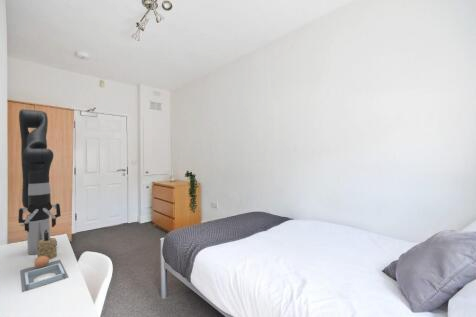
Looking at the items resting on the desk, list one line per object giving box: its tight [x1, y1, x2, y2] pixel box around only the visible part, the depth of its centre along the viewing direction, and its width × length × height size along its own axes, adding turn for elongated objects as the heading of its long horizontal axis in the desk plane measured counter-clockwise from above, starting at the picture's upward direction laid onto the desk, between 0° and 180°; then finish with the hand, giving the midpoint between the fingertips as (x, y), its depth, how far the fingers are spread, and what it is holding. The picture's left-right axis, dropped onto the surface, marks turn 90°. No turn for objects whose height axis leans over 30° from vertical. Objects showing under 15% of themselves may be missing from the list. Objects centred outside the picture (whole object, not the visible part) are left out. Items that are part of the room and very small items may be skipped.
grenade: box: [36, 229, 58, 261], centre depth 114 cm, size 8×7×15 cm
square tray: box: [25, 263, 66, 292], centre depth 94 cm, size 14×12×2 cm
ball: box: [33, 256, 50, 268], centre depth 103 cm, size 5×5×5 cm
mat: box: [19, 259, 69, 293], centre depth 98 cm, size 24×14×1 cm, turn 45°
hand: (40, 229), depth 103 cm, fingers open, 8 cm apart
